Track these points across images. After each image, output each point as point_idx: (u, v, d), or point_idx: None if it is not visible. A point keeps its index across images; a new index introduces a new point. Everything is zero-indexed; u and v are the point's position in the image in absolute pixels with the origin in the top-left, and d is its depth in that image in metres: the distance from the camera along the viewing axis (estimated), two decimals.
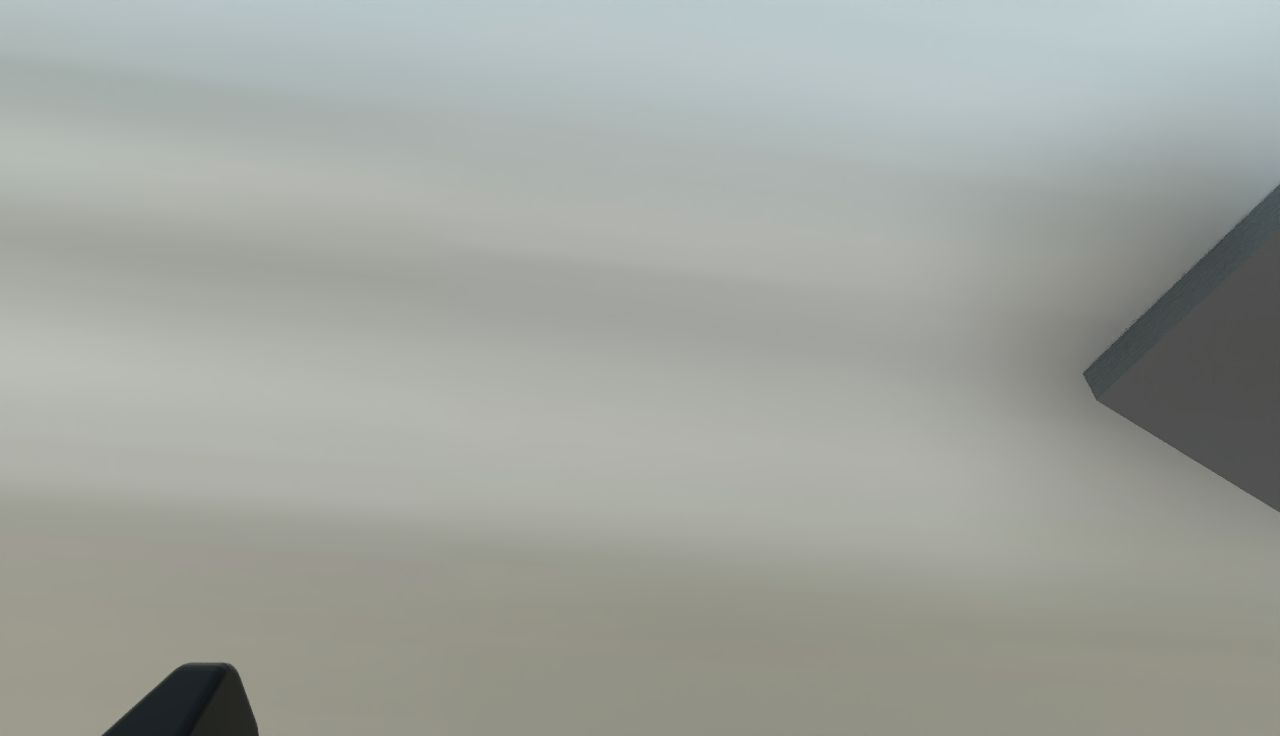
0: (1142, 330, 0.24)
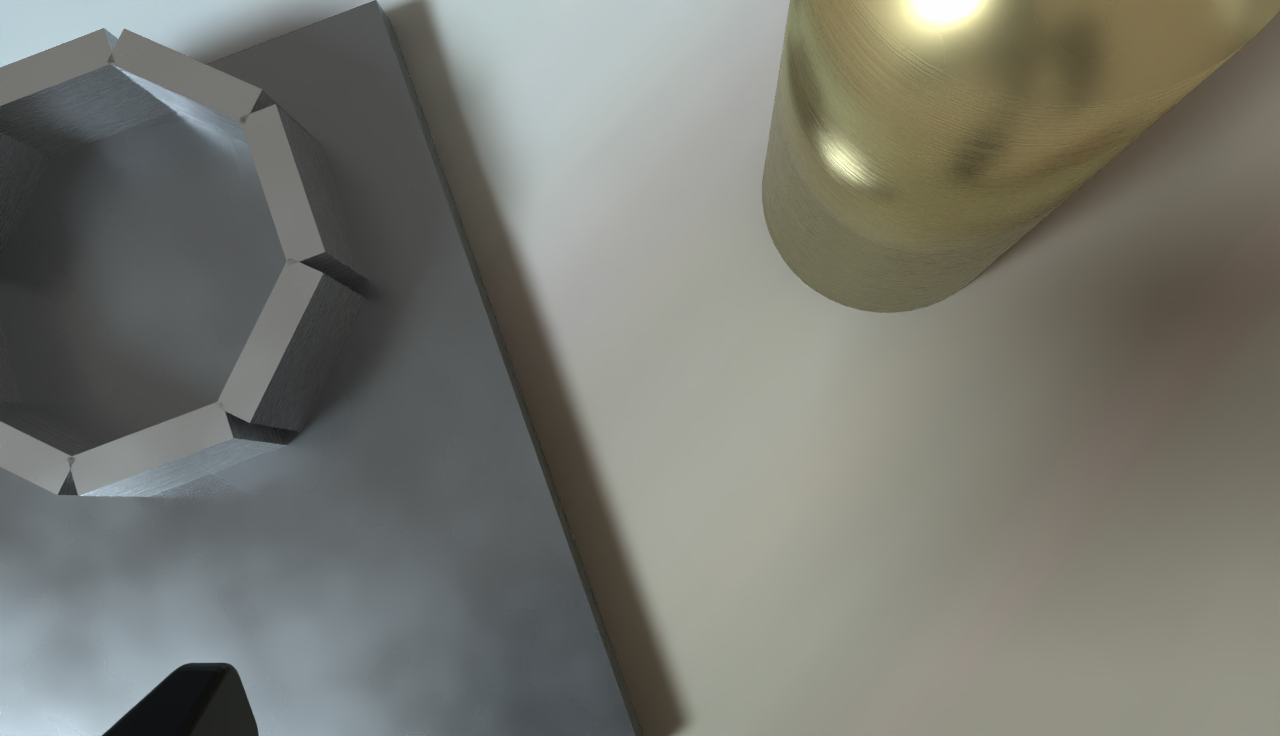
0: None
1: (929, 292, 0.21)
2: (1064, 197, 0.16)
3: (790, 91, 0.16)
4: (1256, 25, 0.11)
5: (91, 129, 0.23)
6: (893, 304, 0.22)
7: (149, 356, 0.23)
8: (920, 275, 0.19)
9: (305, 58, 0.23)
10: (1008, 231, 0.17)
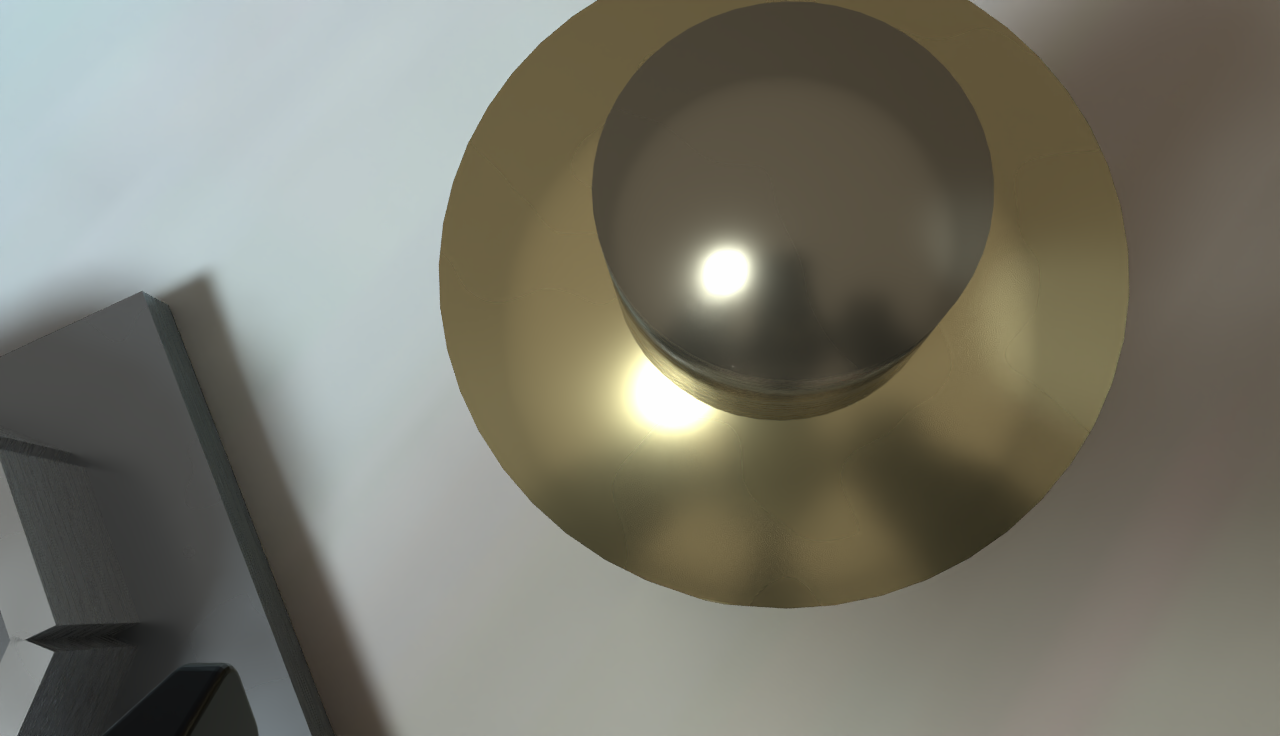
0: None
1: None
2: None
3: None
4: (1046, 479, 0.08)
5: None
6: None
7: None
8: None
9: (63, 364, 0.20)
10: None
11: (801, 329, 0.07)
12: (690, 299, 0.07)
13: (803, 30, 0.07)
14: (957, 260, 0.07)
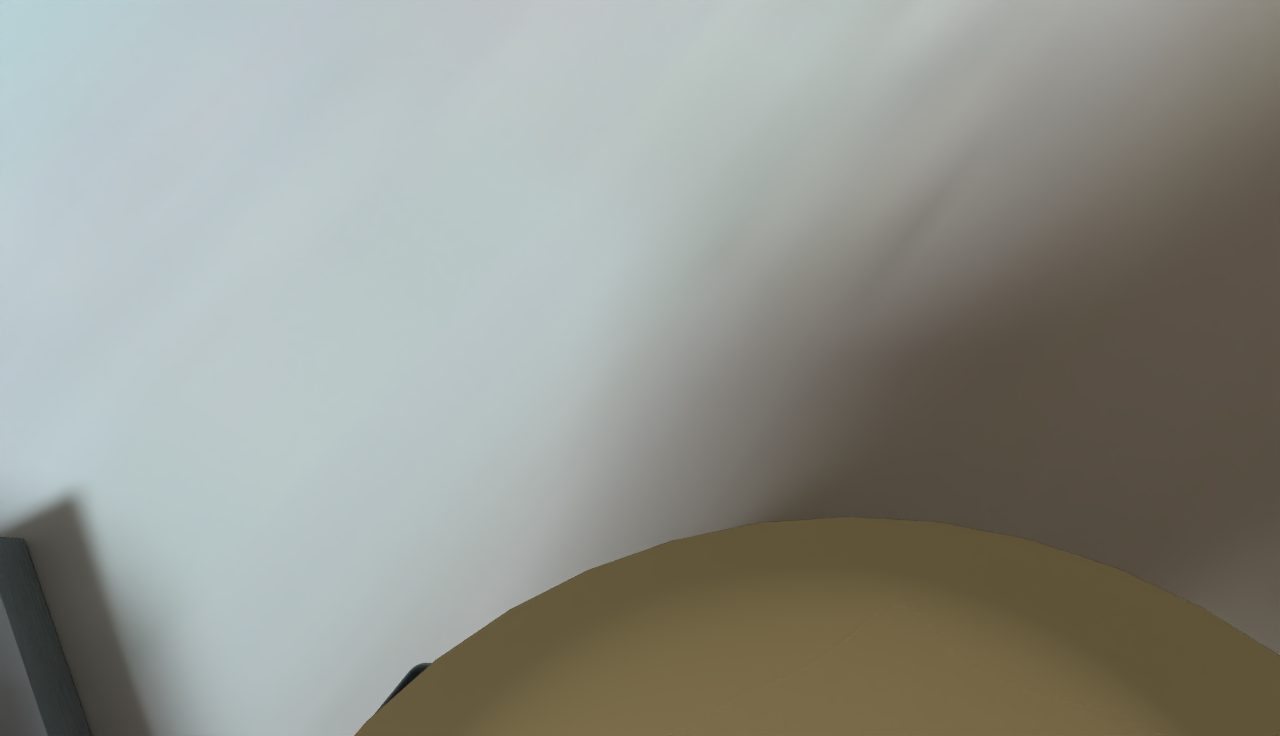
0: None
1: None
2: None
3: None
4: None
5: None
6: None
7: None
8: None
9: None
10: None
11: None
12: None
13: None
14: None
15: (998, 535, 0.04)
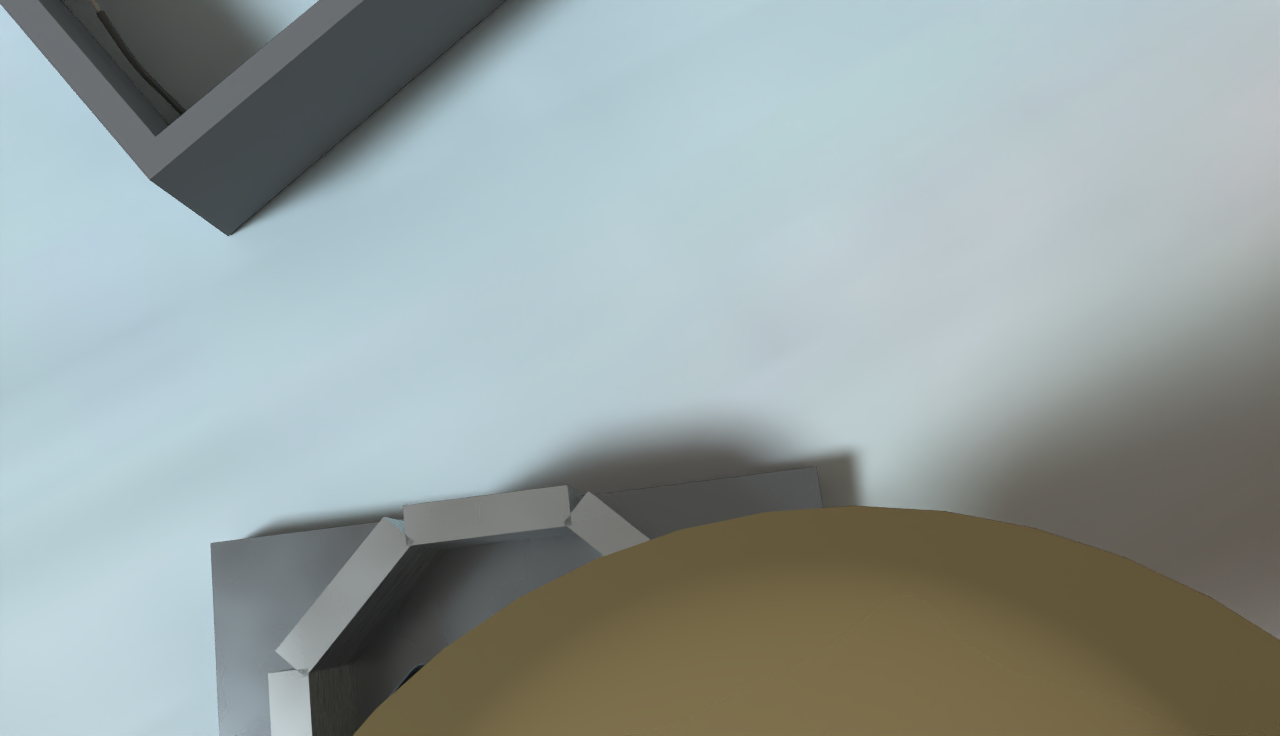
0: None
1: None
2: None
3: None
4: None
5: (500, 541, 0.21)
6: None
7: None
8: None
9: (730, 511, 0.22)
10: None
11: None
12: None
13: None
14: None
15: (1006, 525, 0.04)
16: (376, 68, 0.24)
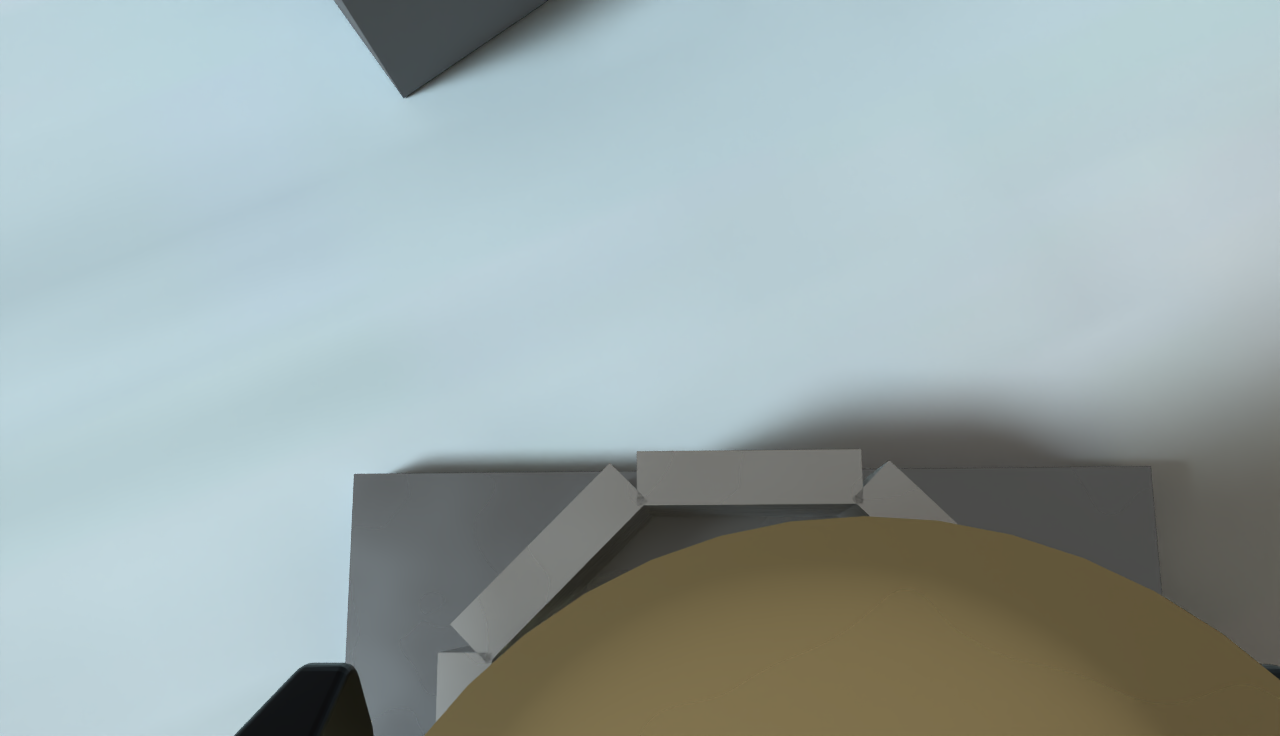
0: None
1: None
2: None
3: None
4: None
5: (734, 514, 0.17)
6: None
7: None
8: None
9: (1032, 510, 0.17)
10: None
11: None
12: None
13: None
14: None
15: (988, 531, 0.05)
16: None
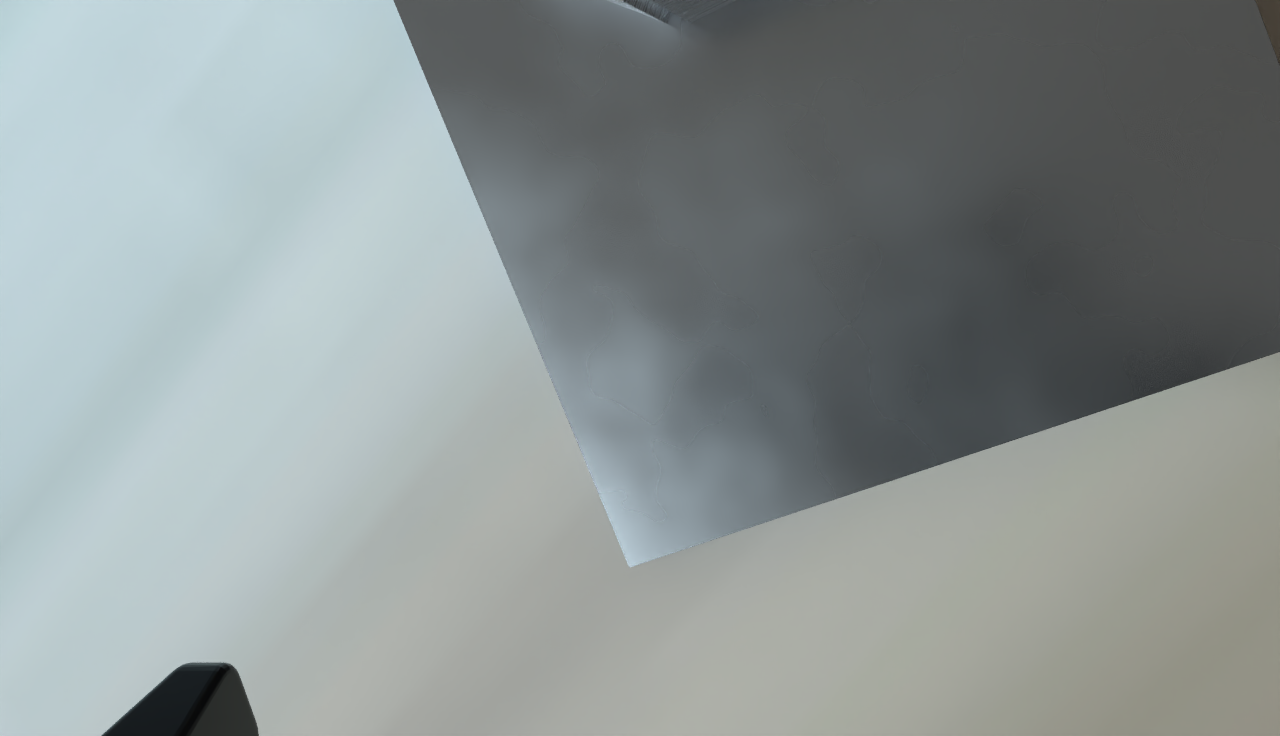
0: None
1: None
2: None
3: None
4: None
5: None
6: None
7: None
8: None
9: None
10: None
11: None
12: None
13: None
14: None
15: None
16: None
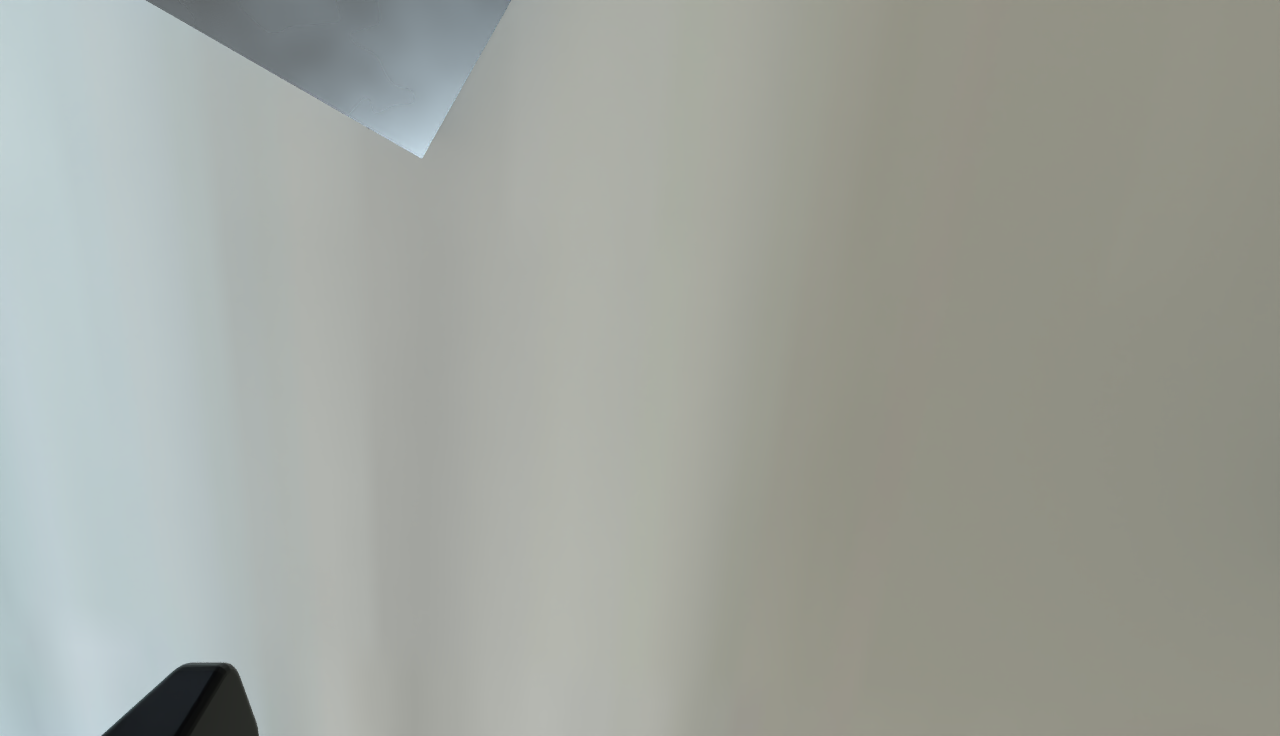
0: None
1: None
2: None
3: None
4: None
5: None
6: None
7: None
8: None
9: None
10: None
11: None
12: None
13: None
14: None
15: None
16: None
